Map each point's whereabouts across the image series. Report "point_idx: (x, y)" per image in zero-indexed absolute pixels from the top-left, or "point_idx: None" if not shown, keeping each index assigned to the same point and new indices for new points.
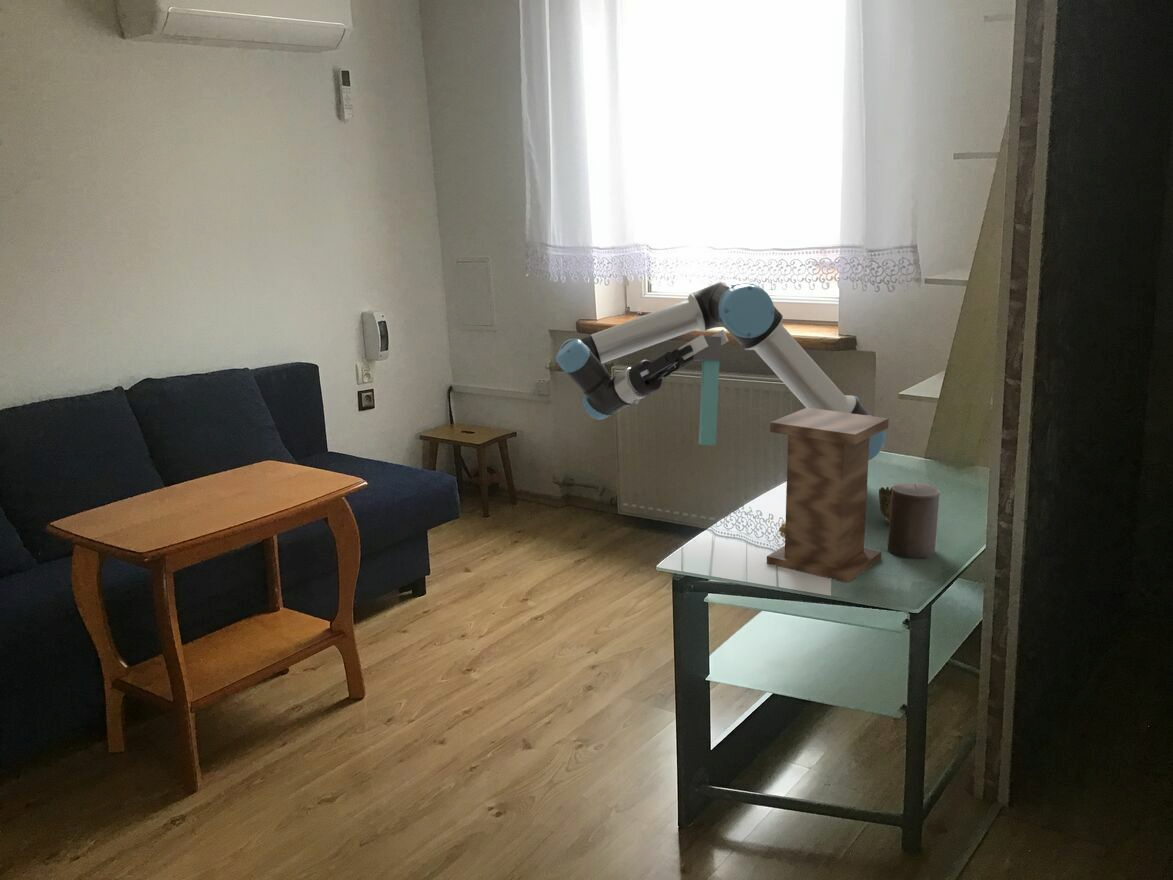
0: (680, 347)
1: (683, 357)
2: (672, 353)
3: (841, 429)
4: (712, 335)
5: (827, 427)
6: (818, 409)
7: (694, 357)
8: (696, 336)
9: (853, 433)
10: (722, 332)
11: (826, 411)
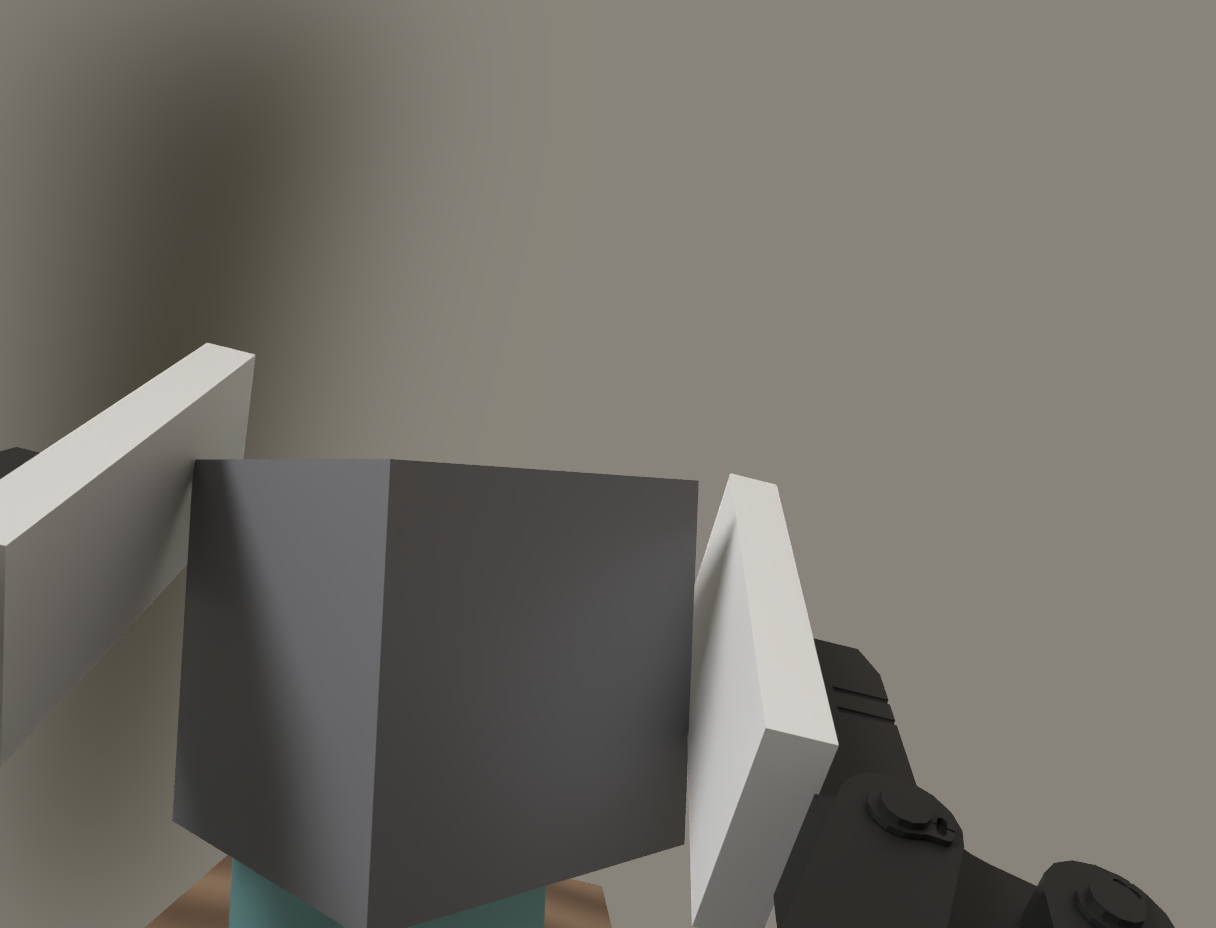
0: (827, 718)
1: (771, 899)
2: (1027, 883)
3: (558, 899)
4: (178, 413)
5: (561, 919)
6: (178, 909)
7: (494, 852)
8: (605, 476)
9: (591, 887)
10: (247, 387)
11: (220, 895)
